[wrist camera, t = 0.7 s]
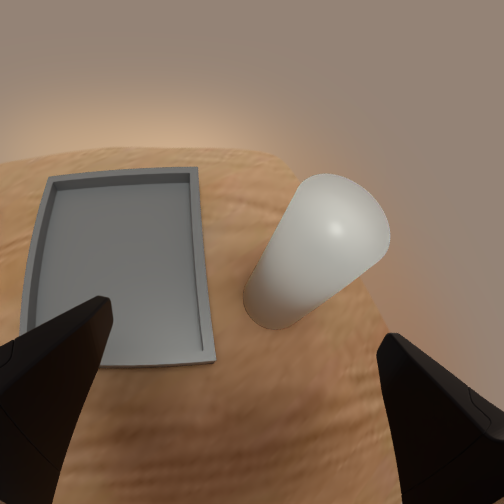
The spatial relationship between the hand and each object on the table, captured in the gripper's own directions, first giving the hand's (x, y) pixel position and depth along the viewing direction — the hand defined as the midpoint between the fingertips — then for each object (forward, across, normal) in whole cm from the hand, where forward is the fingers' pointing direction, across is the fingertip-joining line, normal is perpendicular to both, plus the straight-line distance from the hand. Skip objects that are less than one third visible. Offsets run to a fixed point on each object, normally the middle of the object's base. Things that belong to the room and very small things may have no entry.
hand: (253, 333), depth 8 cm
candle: (+14, -3, +8) cm, 17 cm away
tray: (+14, +11, +7) cm, 19 cm away
